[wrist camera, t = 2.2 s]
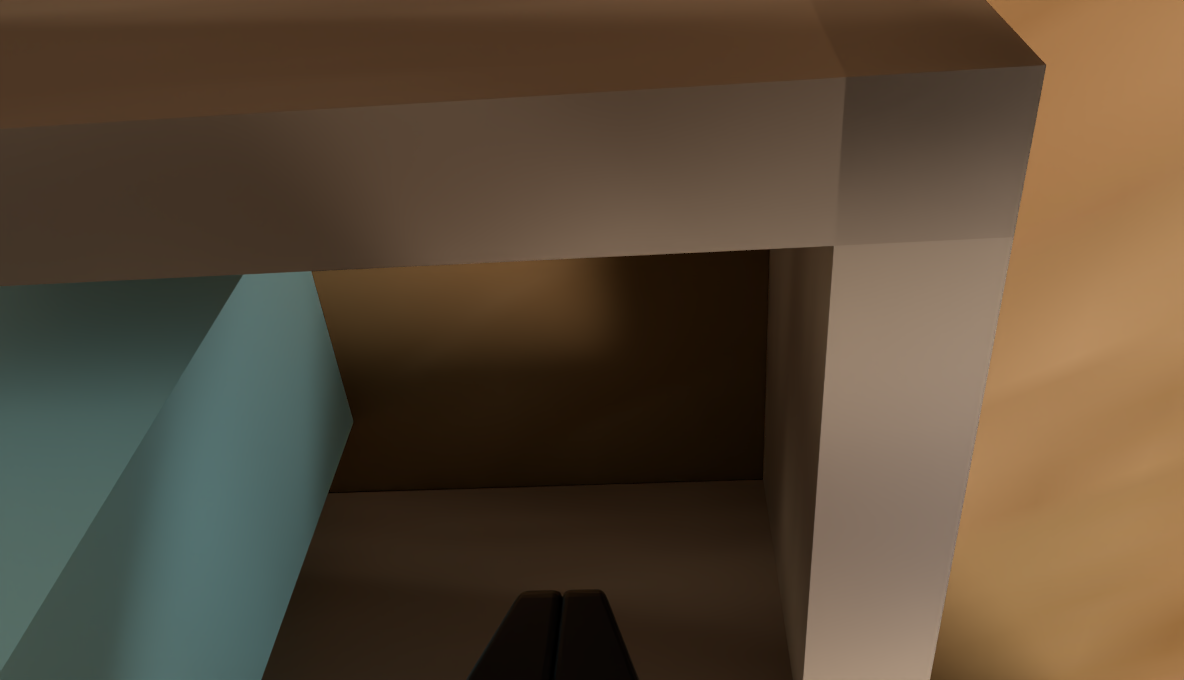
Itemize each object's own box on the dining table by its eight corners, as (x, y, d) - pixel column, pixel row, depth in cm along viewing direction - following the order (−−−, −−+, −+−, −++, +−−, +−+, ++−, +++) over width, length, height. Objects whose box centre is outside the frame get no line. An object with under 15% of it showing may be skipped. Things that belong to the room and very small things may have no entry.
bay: (850, 541, 17) (909, 792, 13) (171, 559, 18) (51, 798, 14) (912, -77, 11) (1046, 63, 8) (-94, -6, 12) (-408, 153, 8)
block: (353, 422, 16) (156, 970, 9) (112, 431, 16) (-240, 968, 10) (290, 197, 14) (-28, 717, 7) (11, 212, 14) (-538, 723, 7)
